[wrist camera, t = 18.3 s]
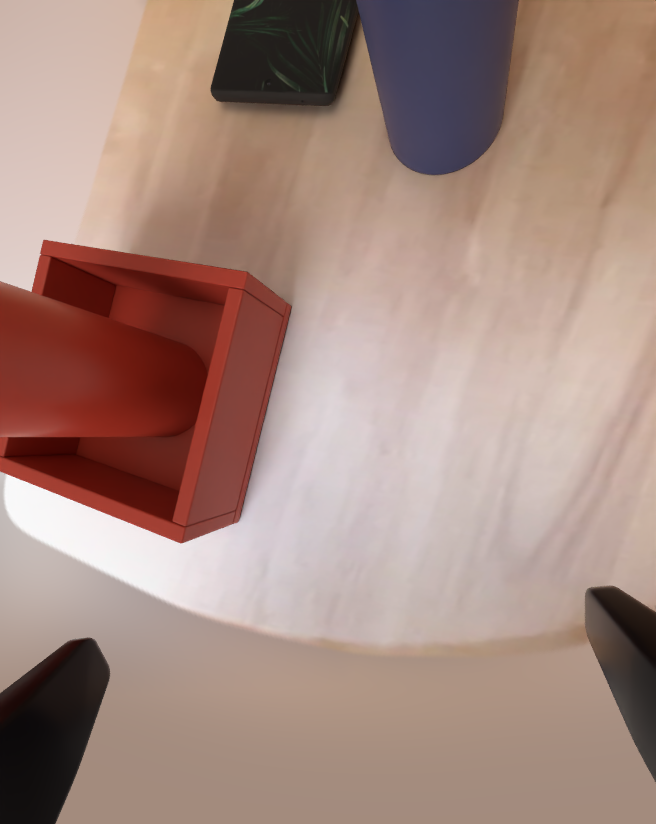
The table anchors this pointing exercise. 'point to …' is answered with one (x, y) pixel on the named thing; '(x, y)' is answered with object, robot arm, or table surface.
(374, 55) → the navy cylinder
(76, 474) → the red bin
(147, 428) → the red cylinder
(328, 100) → the smartphone
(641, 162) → the table surface
